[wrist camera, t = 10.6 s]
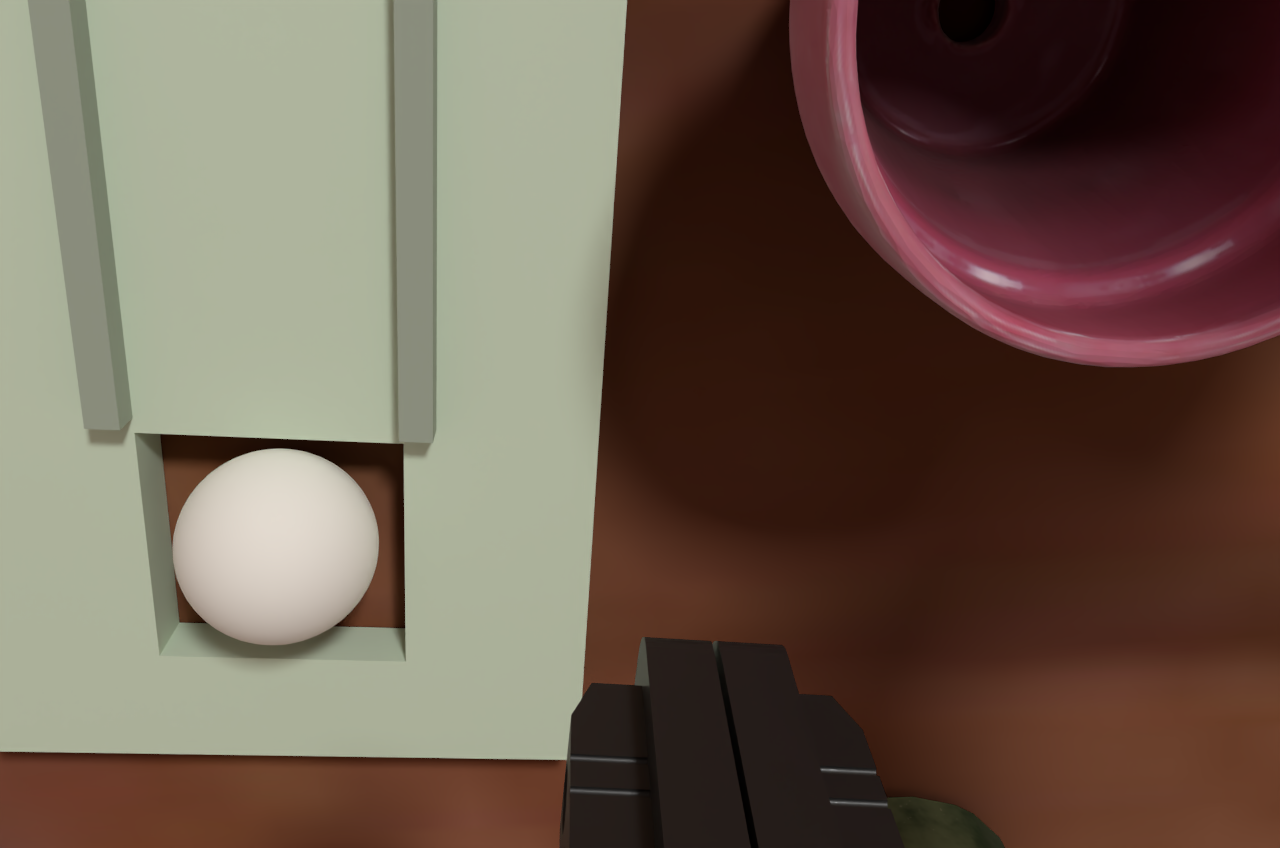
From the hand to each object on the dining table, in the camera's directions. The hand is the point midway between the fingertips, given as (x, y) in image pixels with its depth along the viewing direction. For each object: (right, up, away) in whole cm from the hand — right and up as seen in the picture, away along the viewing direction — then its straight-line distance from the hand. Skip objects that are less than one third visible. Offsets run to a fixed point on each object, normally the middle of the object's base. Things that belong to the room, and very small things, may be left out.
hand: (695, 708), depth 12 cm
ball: (-12, -1, +21) cm, 25 cm away
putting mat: (-12, +7, +22) cm, 26 cm away
